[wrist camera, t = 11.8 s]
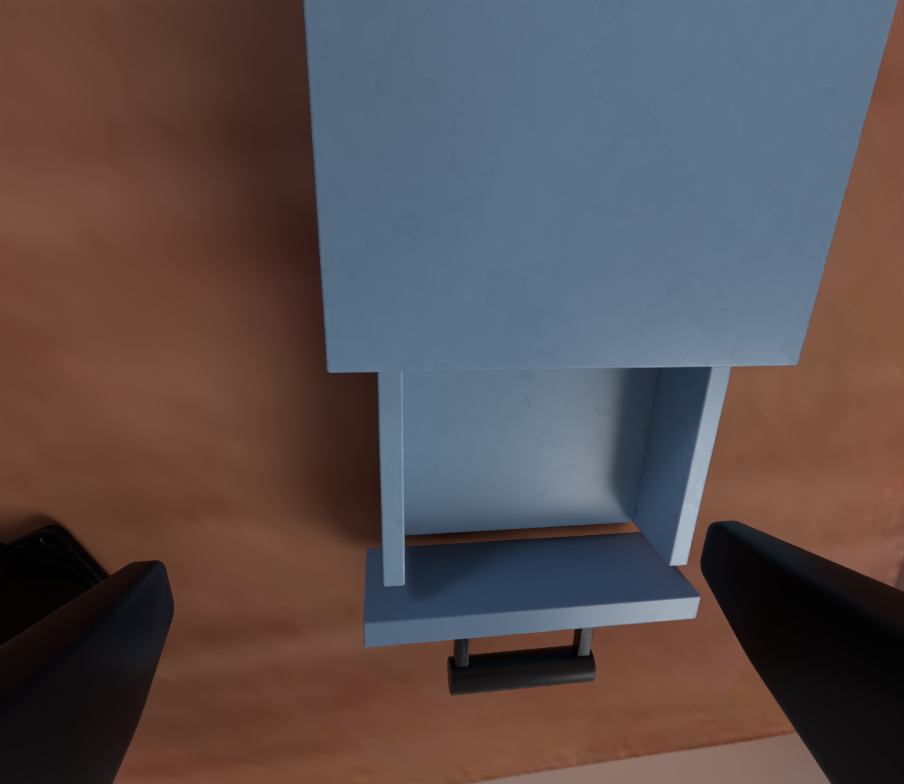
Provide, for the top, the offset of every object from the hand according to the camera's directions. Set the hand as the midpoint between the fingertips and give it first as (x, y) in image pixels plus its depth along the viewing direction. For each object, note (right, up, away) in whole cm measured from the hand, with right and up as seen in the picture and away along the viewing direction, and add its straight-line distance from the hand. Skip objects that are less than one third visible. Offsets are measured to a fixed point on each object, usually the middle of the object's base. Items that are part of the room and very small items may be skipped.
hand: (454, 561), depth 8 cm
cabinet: (+3, +13, +10) cm, 17 cm away
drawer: (+3, 0, +14) cm, 14 cm away
